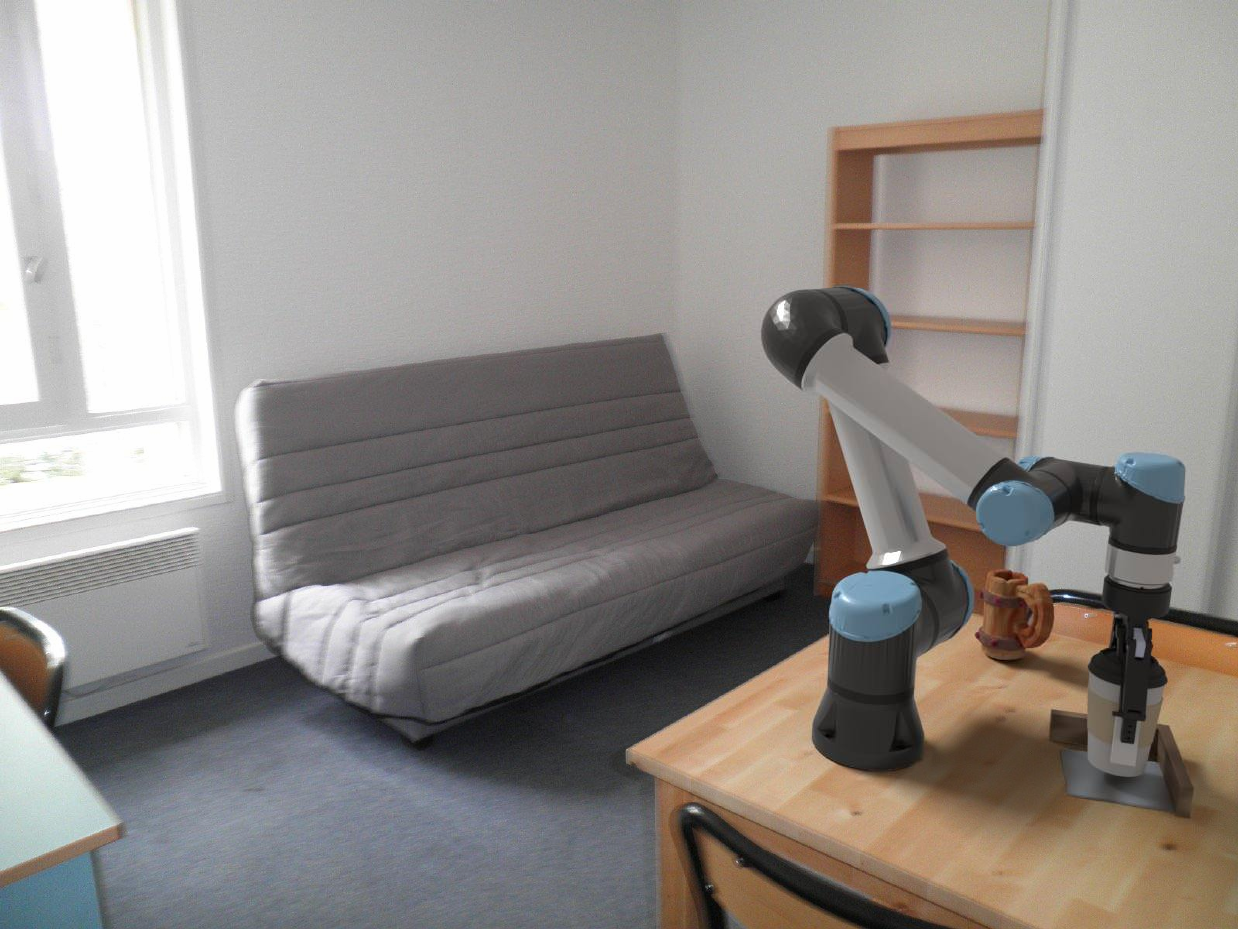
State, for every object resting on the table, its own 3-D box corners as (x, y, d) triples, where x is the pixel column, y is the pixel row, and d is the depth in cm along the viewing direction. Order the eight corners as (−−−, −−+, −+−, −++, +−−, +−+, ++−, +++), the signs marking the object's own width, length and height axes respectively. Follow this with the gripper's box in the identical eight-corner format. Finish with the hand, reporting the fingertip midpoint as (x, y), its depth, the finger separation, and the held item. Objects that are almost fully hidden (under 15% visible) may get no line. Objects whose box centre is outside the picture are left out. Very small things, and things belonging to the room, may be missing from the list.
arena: (1057, 796, 125) (1060, 767, 124) (1048, 735, 141) (1051, 709, 140) (1189, 818, 120) (1194, 788, 120) (1165, 752, 136) (1169, 725, 135)
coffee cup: (1143, 749, 132) (1157, 643, 129) (1165, 784, 123) (1180, 672, 120) (1070, 742, 134) (1082, 637, 130) (1087, 777, 125) (1100, 666, 122)
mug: (963, 647, 171) (970, 564, 167) (1003, 641, 173) (1010, 559, 170) (1021, 682, 157) (1029, 592, 154) (1063, 676, 160) (1073, 587, 156)
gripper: (1189, 612, 112) (1164, 793, 117) (1157, 556, 132) (1137, 713, 137) (1115, 604, 114) (1094, 782, 119) (1095, 550, 134) (1078, 705, 139)
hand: (1117, 745), depth 128 cm, fingers closed on coffee cup, 8 cm apart
